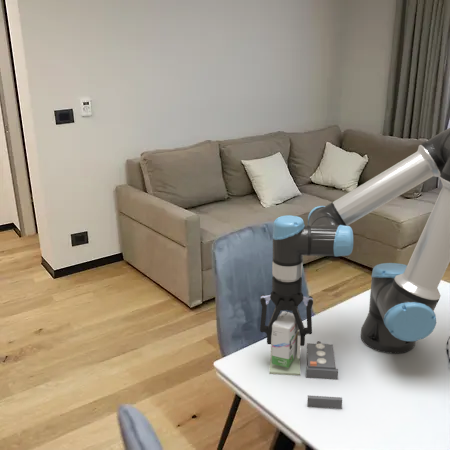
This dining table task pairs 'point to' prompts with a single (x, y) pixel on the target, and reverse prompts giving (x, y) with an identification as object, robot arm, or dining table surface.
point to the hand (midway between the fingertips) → (285, 354)
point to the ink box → (284, 339)
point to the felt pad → (292, 370)
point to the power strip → (322, 373)
